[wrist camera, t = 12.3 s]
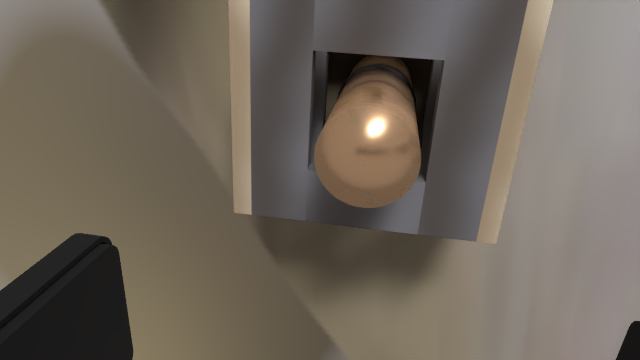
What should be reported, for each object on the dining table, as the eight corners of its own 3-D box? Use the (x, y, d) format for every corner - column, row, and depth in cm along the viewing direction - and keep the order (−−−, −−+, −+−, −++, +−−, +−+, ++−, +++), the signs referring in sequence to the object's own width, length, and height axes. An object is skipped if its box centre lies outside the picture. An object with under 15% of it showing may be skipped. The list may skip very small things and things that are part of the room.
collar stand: (510, -11, 27) (555, -7, 19) (472, 179, 32) (496, 244, 24) (273, -24, 29) (227, -25, 21) (271, 158, 33) (233, 212, 26)
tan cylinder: (417, 53, 29) (431, 110, 16) (408, 118, 31) (415, 216, 18) (350, 48, 30) (314, 100, 17) (345, 112, 31) (309, 203, 19)
